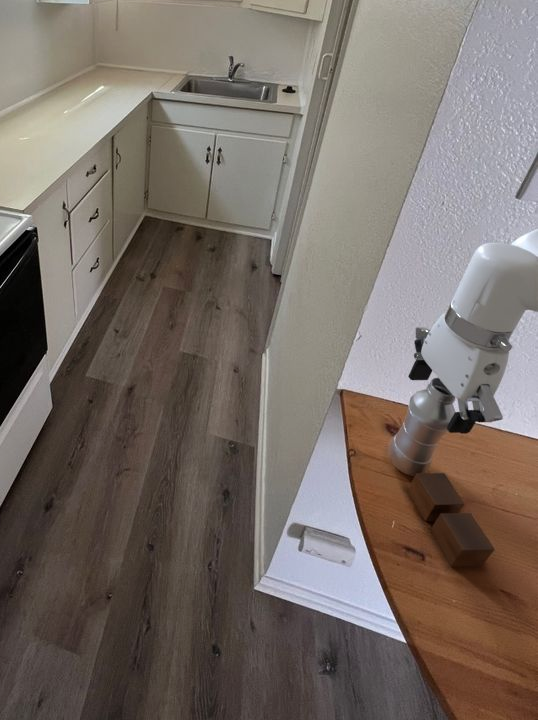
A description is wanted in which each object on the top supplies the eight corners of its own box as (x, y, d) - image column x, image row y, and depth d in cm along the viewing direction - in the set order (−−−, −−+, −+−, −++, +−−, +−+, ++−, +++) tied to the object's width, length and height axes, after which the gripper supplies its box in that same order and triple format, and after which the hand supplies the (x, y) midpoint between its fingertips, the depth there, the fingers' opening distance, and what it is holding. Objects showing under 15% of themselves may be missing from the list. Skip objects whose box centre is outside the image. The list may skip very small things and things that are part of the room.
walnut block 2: (459, 529, 68) (470, 512, 66) (481, 566, 63) (495, 549, 61) (429, 530, 68) (440, 513, 65) (450, 566, 63) (462, 550, 61)
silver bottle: (434, 473, 76) (479, 396, 66) (407, 487, 73) (449, 410, 64) (402, 440, 81) (439, 365, 72) (375, 453, 79) (411, 377, 69)
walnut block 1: (434, 489, 73) (444, 472, 71) (453, 520, 69) (465, 504, 67) (407, 490, 73) (416, 473, 71) (424, 521, 69) (435, 504, 66)
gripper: (556, 371, 54) (500, 454, 62) (460, 286, 70) (424, 361, 77) (499, 372, 54) (450, 455, 62) (415, 286, 69) (384, 361, 77)
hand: (436, 403), depth 70 cm, fingers open, 9 cm apart
